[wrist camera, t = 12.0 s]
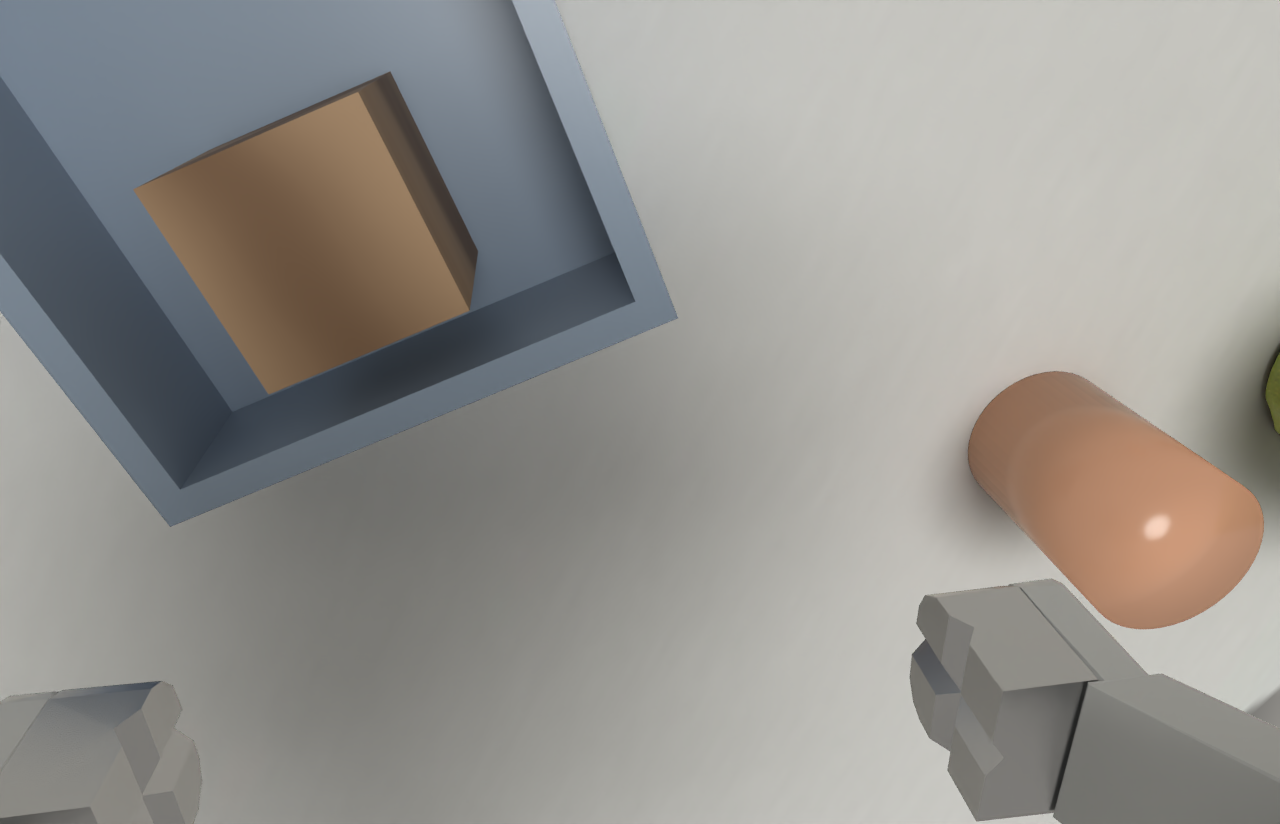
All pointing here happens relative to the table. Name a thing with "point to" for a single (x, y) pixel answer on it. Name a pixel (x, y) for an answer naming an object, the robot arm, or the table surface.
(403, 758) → the table surface
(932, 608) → the robot arm
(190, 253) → the walnut cube
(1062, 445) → the terracotta cylinder
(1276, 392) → the plant pot
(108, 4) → the tote
